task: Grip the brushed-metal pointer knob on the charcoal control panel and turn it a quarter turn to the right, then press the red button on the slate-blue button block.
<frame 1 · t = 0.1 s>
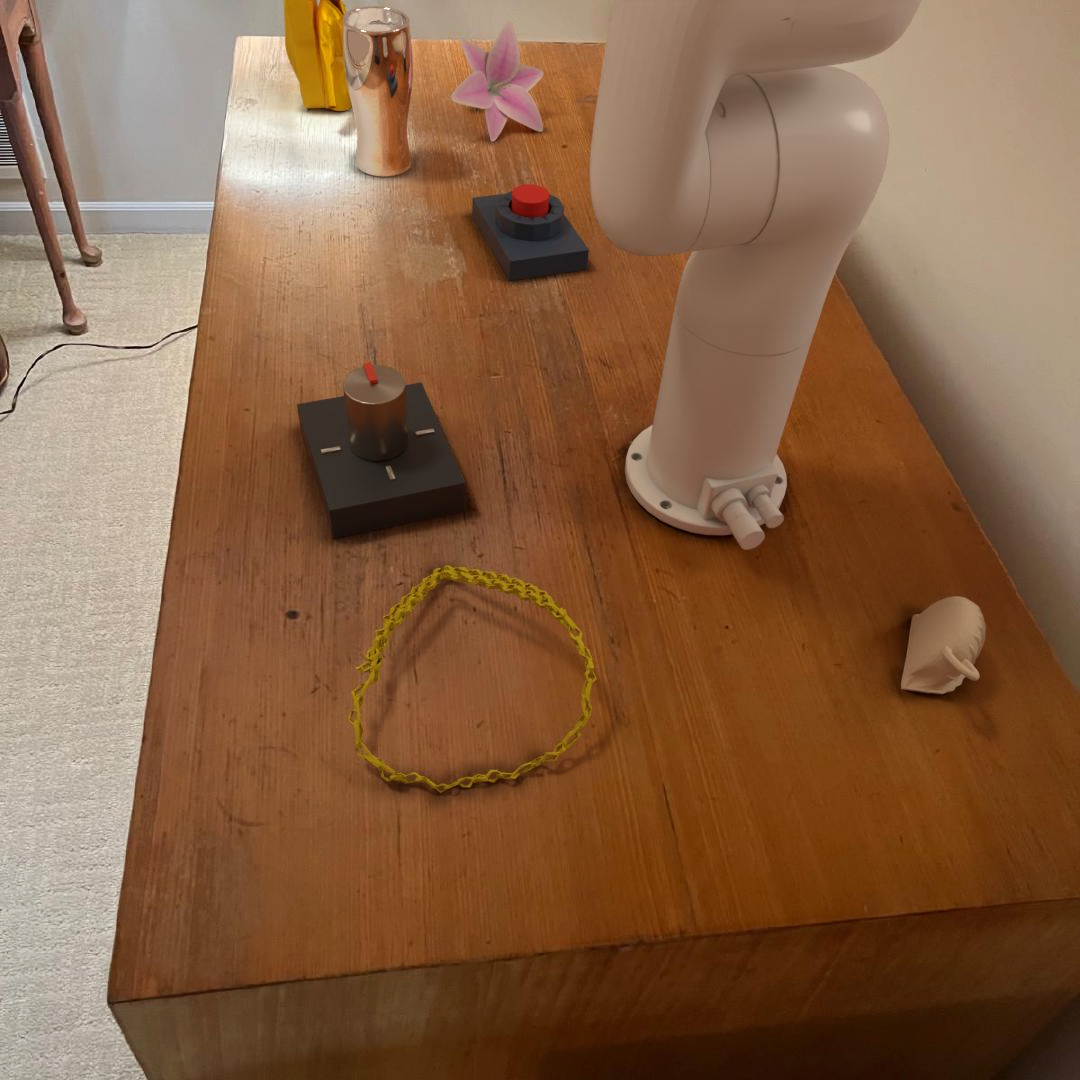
beer glass: (383, 164, 111), on the table
yellow foil bag: (325, 102, 121), on the table
lily: (496, 126, 119), on the table
dial: (376, 411, 74), point 6 cm above the table, hinge at 0.0°
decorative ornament: (930, 667, 69), on the table
button block: (527, 242, 102), on the table
watch: (651, 156, 116), on the table
panel: (380, 470, 79), on the table
button: (530, 201, 99), point 4 cm above the table, slide at 0.1 cm
decorative chain: (455, 676, 66), on the table
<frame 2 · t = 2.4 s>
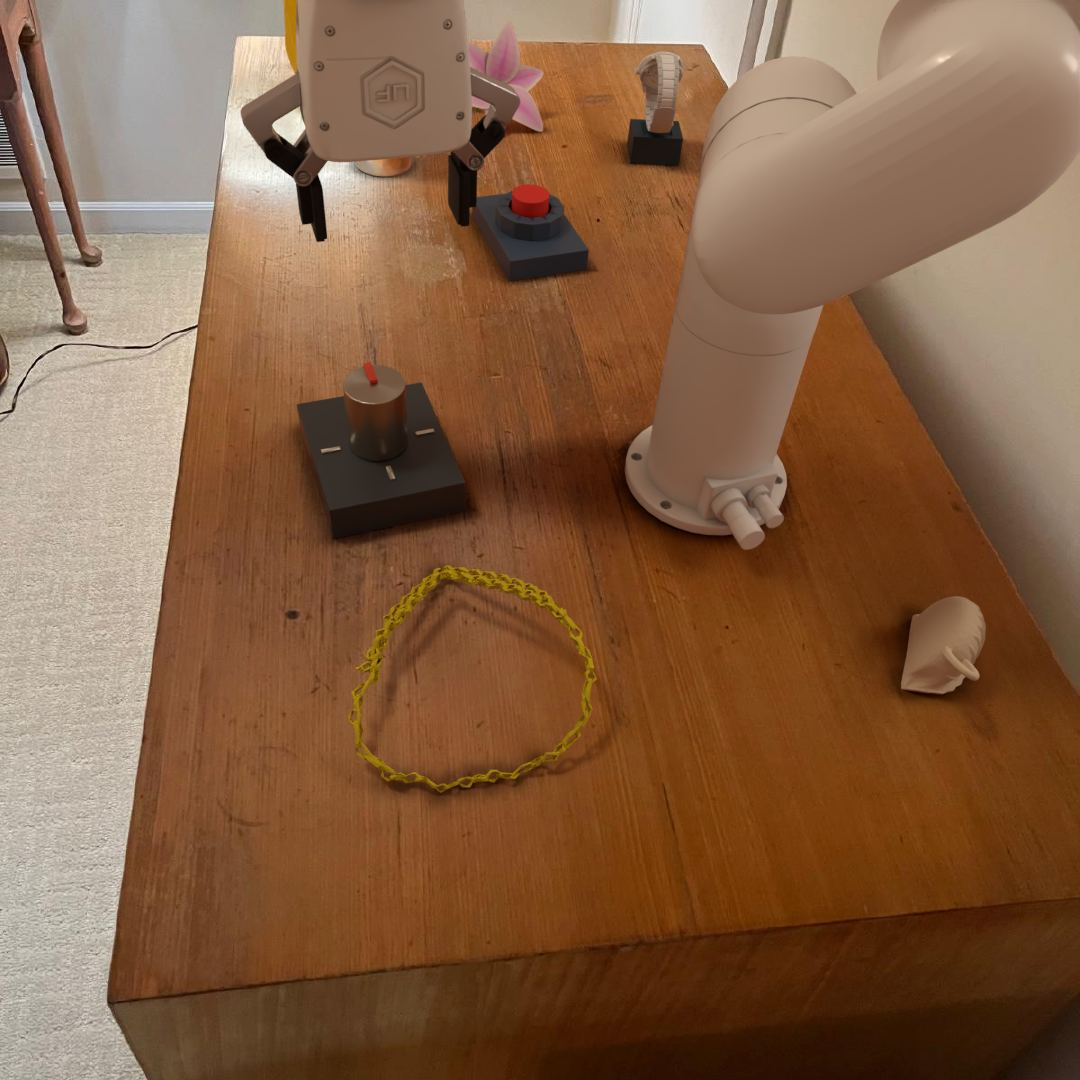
hand: (389, 223, 69), 18 cm above the table, tool pointing down, fingers open, 9 cm apart
nothing on the table moved.
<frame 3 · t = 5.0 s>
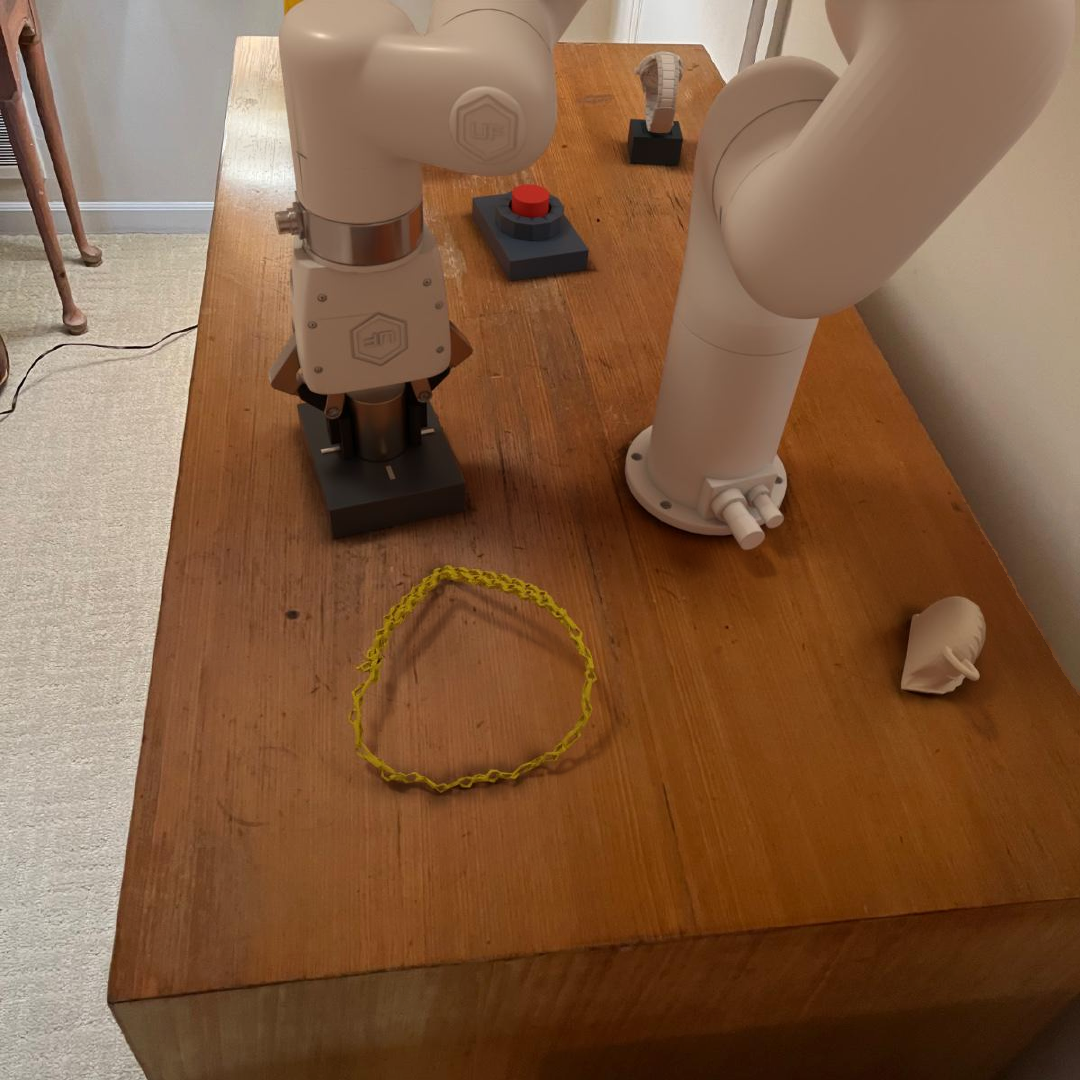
hand: (378, 438, 76), 3 cm above the table, tool pointing down, fingers closed on dial, panel, 4 cm apart
dial: (376, 411, 74), point 6 cm above the table, hinge at 0.0°, touching gripper
everything else where it was.
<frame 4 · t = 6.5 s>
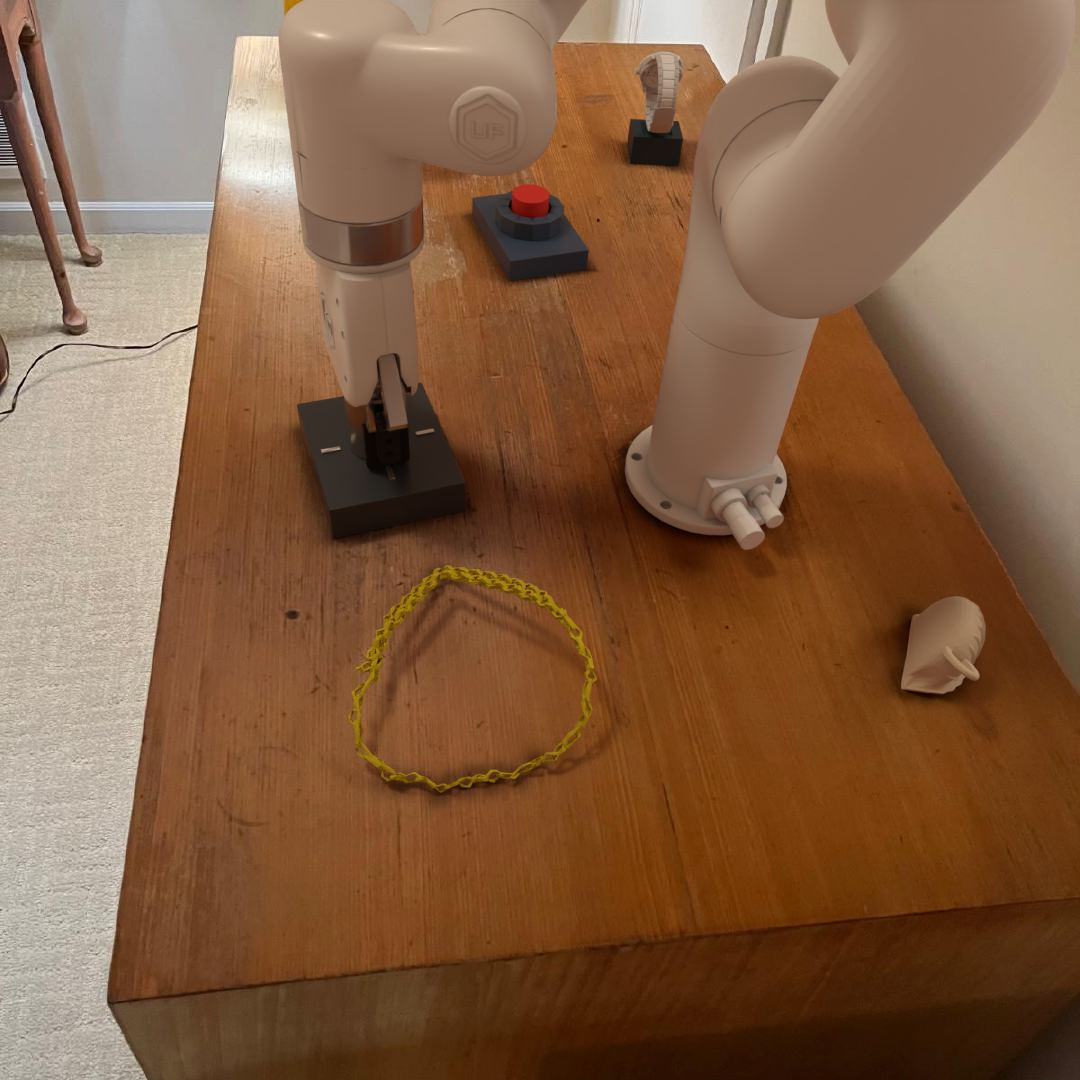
hand: (379, 438, 76), 3 cm above the table, tool pointing down, fingers closed on dial, 4 cm apart
dial: (376, 411, 74), point 6 cm above the table, hinge at -91.3°, touching gripper
everything else where it was.
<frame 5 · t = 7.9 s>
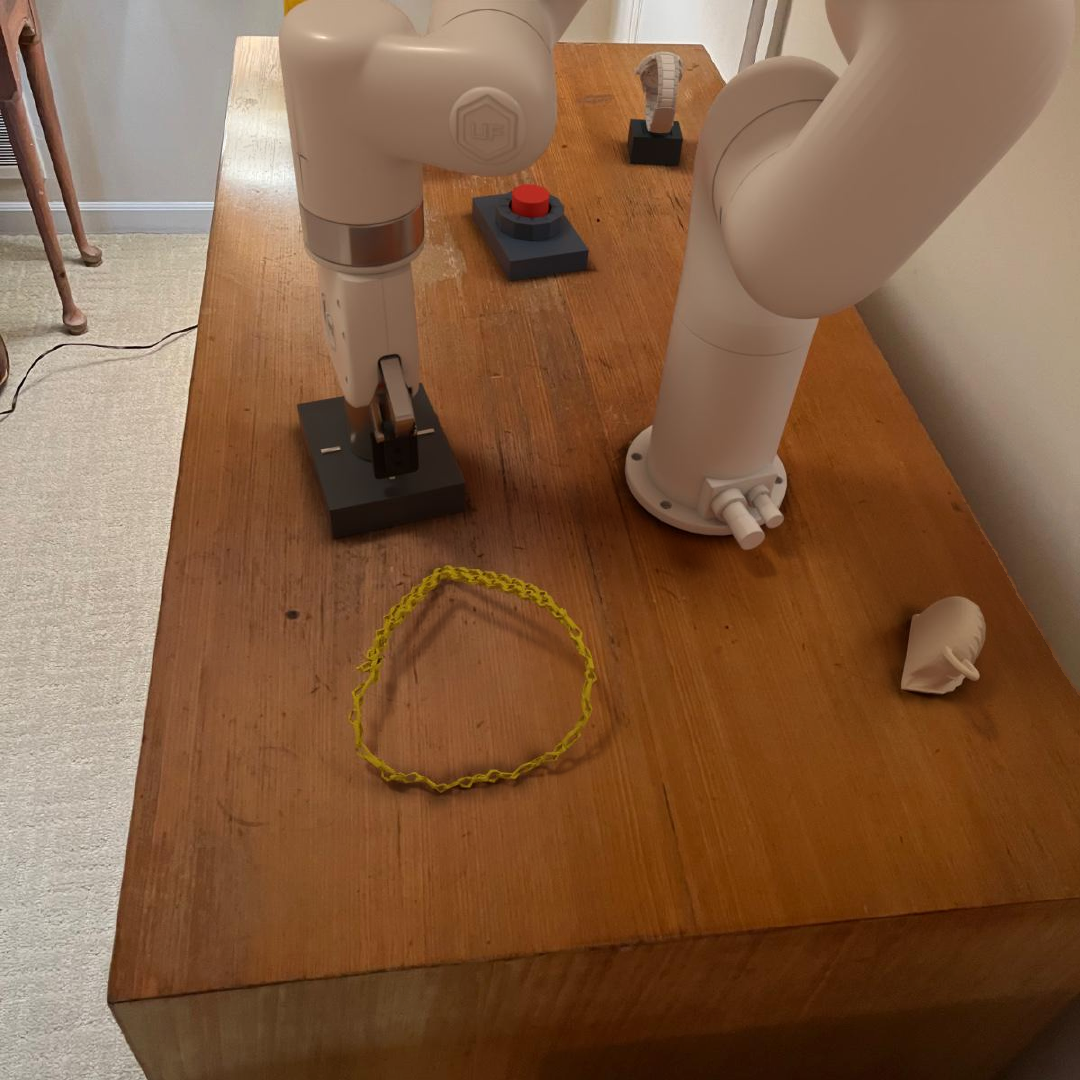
hand: (379, 429, 76), 4 cm above the table, tool pointing down, fingers open, 9 cm apart
dial: (376, 411, 74), point 6 cm above the table, hinge at -91.5°
everything else where it was.
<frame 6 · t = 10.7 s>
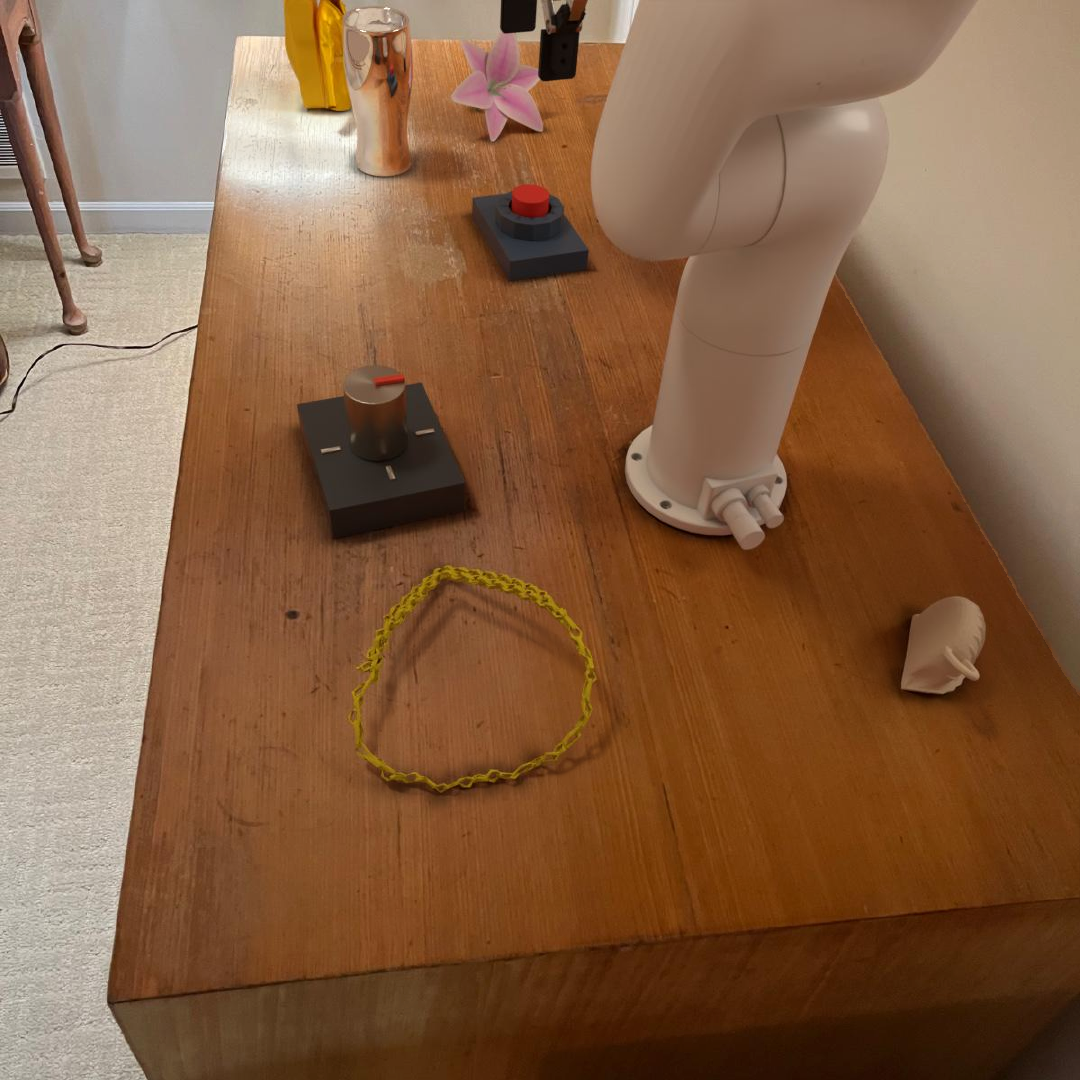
hand: (536, 54, 88), 19 cm above the table, tool pointing down, fingers open, 9 cm apart
nothing on the table moved.
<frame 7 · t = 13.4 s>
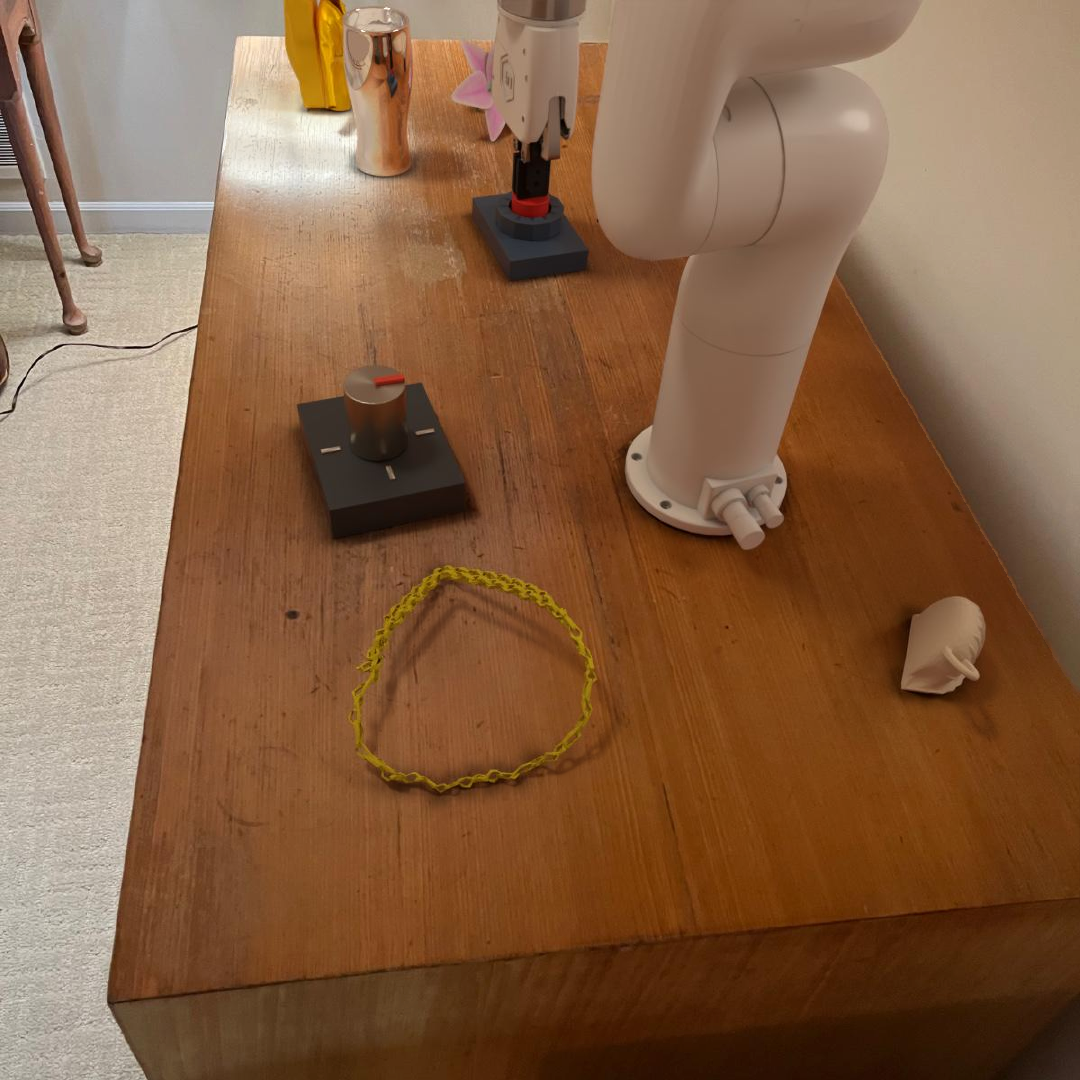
hand: (529, 193, 98), 5 cm above the table, tool pointing down, fingers closed
button: (530, 203, 99), point 4 cm above the table, slide at -0.1 cm, touching gripper
everything else where it was.
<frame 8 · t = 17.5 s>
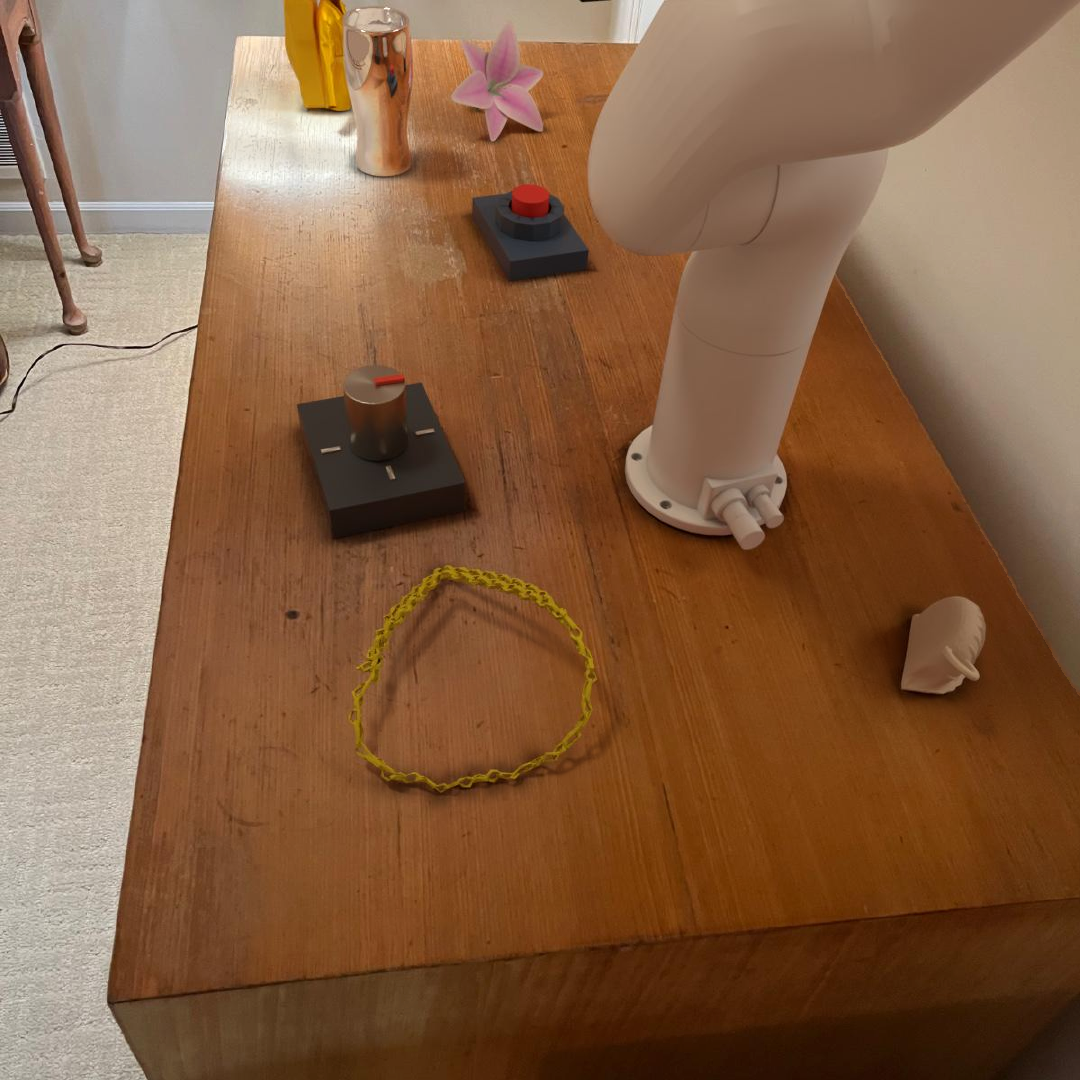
button: (530, 201, 99), point 4 cm above the table, slide at 0.1 cm
everything else where it was.
at the end: dial at -92° (first picture: +0°); button pushed in 1.1 cm at the most during the clip, back to where it started at the end; button slide at 0.1 cm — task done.
